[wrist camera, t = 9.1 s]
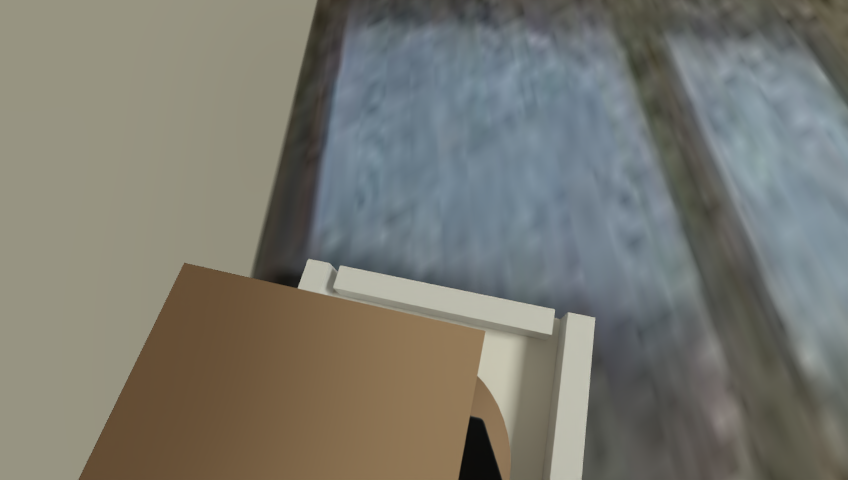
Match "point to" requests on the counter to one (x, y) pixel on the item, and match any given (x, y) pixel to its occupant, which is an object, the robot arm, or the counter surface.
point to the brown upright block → (294, 390)
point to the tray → (500, 360)
